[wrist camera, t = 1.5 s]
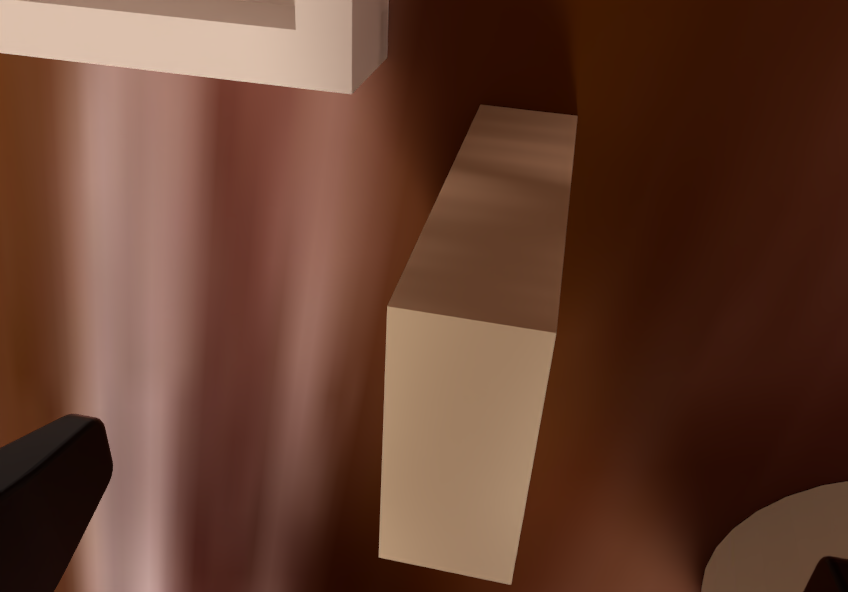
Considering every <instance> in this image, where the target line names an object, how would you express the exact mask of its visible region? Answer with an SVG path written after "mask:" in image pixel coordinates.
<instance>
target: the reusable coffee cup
mask: <svg viewBox="0 0 848 592" xmlns="http://www.w3.org/2000/svg"><path fill="white" fill-rule="evenodd" d="M824 556H833V557H839V558H844V559H848V481H845V482H840V483H834V484H828V485H822V486H819V487H816V488H812V489H809V490H806V491H803V492H800V493H797V494H793V495H790V496H787V497H785V498H783V499H781V500H779V501H777V502H775V503H773V504H771V505H769V506H767V507H765V508H762V509H760V510H758V511H757V512H755V513H754V514H753V515H751V516H750V517H748V518H747V519H746V520H744V521H743V522H742V523H740V524H739V525H737V526H736V527H735V528H733V529H732V531H731V532H730V533H729V534H728V535H727V536H726V537H725V538H724V539H723V540H722V542H721V543H720V544H719V545H718V546H717V547H716V549H715V551H714V552H713V554H712V556H711V558H710V560H709V562H708V564H707V566H706V568H705V572H704V578H703V583H702V588H701V592H803V591H804V589H805V587H806V585H807V583H808V581H809V579H810V577H811V575H812V573H813V571H814V569H815V567H816V565H817V563H818V562H819V560H820V559H821V558H822V557H824Z"/></svg>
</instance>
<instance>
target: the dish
mask: <svg viewBox="0 0 848 592" xmlns="http://www.w3.org/2000/svg"><path fill="white" fill-rule="evenodd" d="M388 16H389V0H0V53H6V54H15V55H23V56H32V57H40V58H49V59H57V60H66V61H74V62H83V63H91V64H99V65H108V66H116V67H125V68H133V69H142V70H150V71H159V72H167V73H176V74H184V75H192V76H201V77H209V78H218V79H226V80H235V81H243V82H252V83H260V84H269V85H277V86H286V87H294V88H302V89H311V90H319V91H328V92H336V93H345V94H353V93H354V92H355V91H356V90H357V89H358V87H359V86H360V85H361V84H362V83H363V82H364V81H365V80H366V79H367V78H368V77H369V76H370V75H371V74H372V73H373V72H374V71H375V70H376V69H377V68H378V67H379V66H380V65H381V64H382V63H383V62H384V61H385V60H386V59H387V51H388Z"/></svg>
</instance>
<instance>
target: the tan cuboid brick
mask: <svg viewBox="0 0 848 592" xmlns="http://www.w3.org/2000/svg"><path fill="white" fill-rule="evenodd" d="M577 117H578V116H575V115H566V114H558V113H549V112H541V111H532V110H524V109H515V108H507V107H498V106H490V105H481V104H480V106H479V109H478V111H477V113H476V115H475V117H474V119H473V122H472V124H471V126H470V128H469V130H468V132H467V135H466V137H465V139H464V141H463V143H462V145H461V148H460V150H459V152H458V154H457V156H456V159H455V161H454V163H453V165H452V167H451V169H450V172H449V174H448V176H447V178H446V180H445V182H444V185H443V187H442V189H441V191H440V193H439V195H438V198H437V200H436V202H435V204H434V206H433V208H432V211H431V213H430V215H429V217H428V219H427V221H426V224H425V226H424V228H423V230H422V232H421V234H420V237H419V239H418V241H417V243H416V245H415V247H414V250H413V252H412V254H411V256H410V258H409V260H408V263H407V265H406V267H405V269H404V271H403V273H402V276H401V278H400V280H399V282H398V284H397V286H396V289H395V291H394V293H393V295H392V297H391V299H390V302H389V304H388V306H387V330H386V359H385V388H384V417H383V446H382V476H381V505H380V534H379V558H384V559H389V560H394V561H398V562H403V563H408V564H413V565H418V566H423V567H427V568H432V569H437V570H442V571H447V572H451V573H456V574H461V575H466V576H471V577H476V578H480V579H485V580H490V581H495V582H500V583H504V584H509V585H511V582H512V577H513V571H514V566H515V560H516V555H517V549H518V544H519V538H520V532H521V527H522V521H523V516H524V510H525V505H526V499H527V494H528V488H529V483H530V477H531V471H532V466H533V460H534V455H535V449H536V444H537V438H538V433H539V427H540V422H541V416H542V410H543V405H544V399H545V394H546V388H547V383H548V377H549V372H550V366H551V361H552V355H553V349H554V344H555V338H556V333H557V322H558V312H559V302H560V292H561V281H562V271H563V261H564V251H565V240H566V230H567V220H568V210H569V199H570V189H571V179H572V169H573V158H574V148H575V138H576V128H577Z"/></svg>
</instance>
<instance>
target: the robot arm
mask: <svg viewBox="0 0 848 592" xmlns="http://www.w3.org/2000/svg"><path fill="white" fill-rule="evenodd" d="M112 471H113V461H112V457H111V452H110V448H109V443H108V439H107V434H106V430H105V426H104V424H103V422H102V421H101V420H100V419H98V418H95V417H89V416H84V415H79V414H69V415H66V416H64V417H61V418H59V419H57V420H55V421H53V422H51V423H49V424H47V425H45V426H43V427H41V428H39V429H37V430H35V431H33V432H31V433H29V434H27V435H25V436H23V437H21V438H19V439H17V440H15V441H13V442H11V443H9V444H7V445H5V446H3V447H1V448H0V592H54V590H55V588H56V587H57V585H58V583H59V581H60V579H61V578H62V576H63V574H64V572H65V570H66V568H67V566H68V564H69V562H70V560H71V558H72V556H73V554H74V552H75V550H76V548H77V546H78V544H79V542H80V540H81V538H82V536H83V534H84V532H85V530H86V528H87V526H88V524H89V522H90V520H91V518H92V516H93V514H94V512H95V510H96V508H97V506H98V504H99V502H100V500H101V498H102V496H103V494H104V492H105V490H106V488H107V486H108V484H109V481H110V479H111V476H112ZM803 592H848V559H844V558H839V557H833V556H824V557H822V558H821V559H820V560H819V562H818V563H817V565H816V567H815V569H814V571H813V573H812V575H811V577H810V579H809V581H808V583H807V585H806V587H805V589H804V591H803Z"/></svg>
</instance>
